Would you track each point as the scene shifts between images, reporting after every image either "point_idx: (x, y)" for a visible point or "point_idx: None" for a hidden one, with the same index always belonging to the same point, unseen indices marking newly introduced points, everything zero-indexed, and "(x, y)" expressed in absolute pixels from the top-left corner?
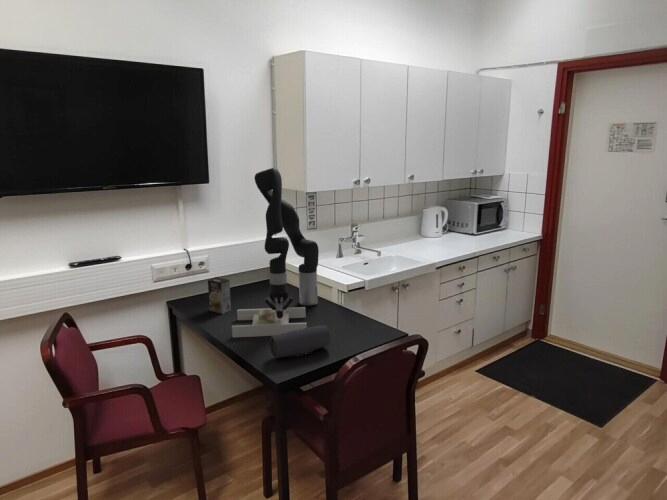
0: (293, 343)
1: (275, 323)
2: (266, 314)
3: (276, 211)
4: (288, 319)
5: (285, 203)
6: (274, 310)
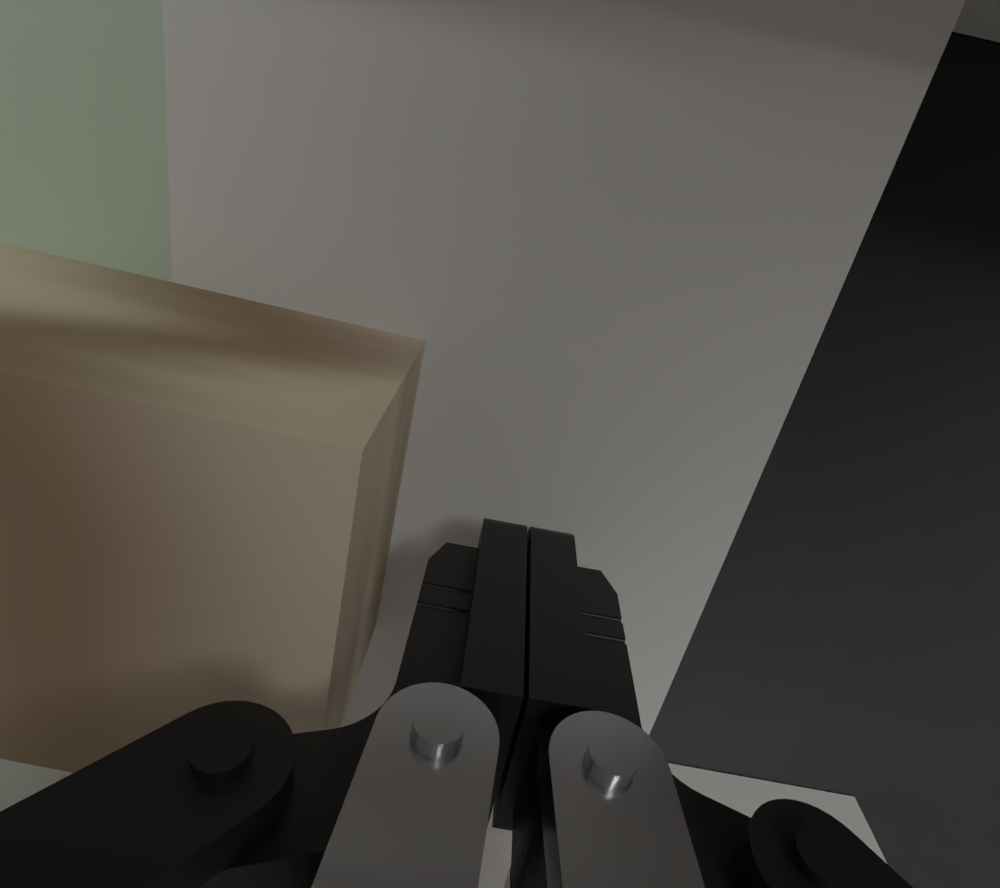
0: None
1: (391, 653)
2: (63, 755)
3: None
4: (739, 500)
5: None
6: (330, 535)
